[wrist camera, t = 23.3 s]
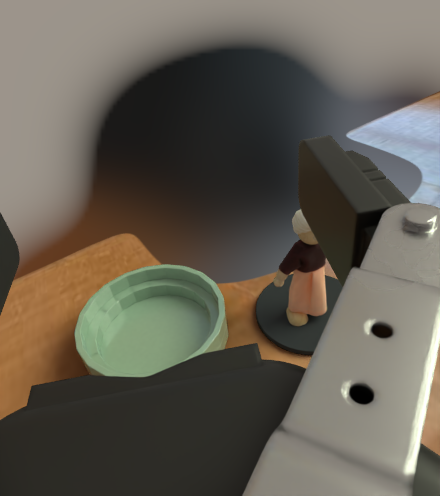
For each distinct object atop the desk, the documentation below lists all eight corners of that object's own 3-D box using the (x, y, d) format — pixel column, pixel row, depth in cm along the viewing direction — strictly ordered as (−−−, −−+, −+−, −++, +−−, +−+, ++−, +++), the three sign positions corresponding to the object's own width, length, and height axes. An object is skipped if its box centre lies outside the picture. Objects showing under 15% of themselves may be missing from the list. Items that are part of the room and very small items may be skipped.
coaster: (263, 361, 40) (263, 357, 39) (250, 282, 48) (250, 278, 48) (379, 348, 40) (380, 344, 39) (345, 271, 48) (345, 267, 48)
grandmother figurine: (298, 340, 41) (298, 237, 33) (270, 318, 43) (264, 218, 35) (348, 299, 44) (360, 197, 36) (320, 281, 46) (325, 182, 39)
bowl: (72, 411, 38) (58, 388, 36) (99, 295, 50) (90, 273, 47) (233, 392, 38) (230, 368, 35) (223, 280, 49) (220, 257, 47)
